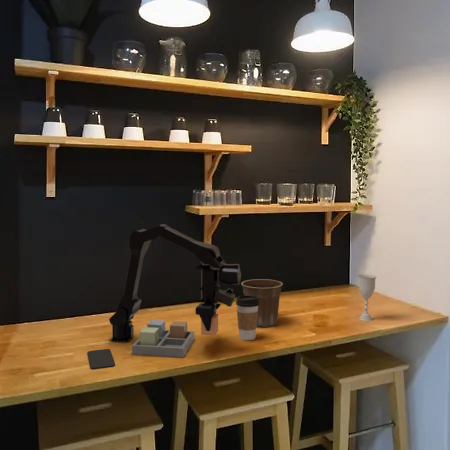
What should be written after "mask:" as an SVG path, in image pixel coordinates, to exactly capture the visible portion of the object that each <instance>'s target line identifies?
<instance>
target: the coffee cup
mask: <svg viewBox="0 0 450 450" xmlns="http://www.w3.org/2000/svg"><path fill="white" fill-rule="evenodd" d="M235 305H236V316H237V326H238V337H239V339H241V340H243V341H252V340H255V339H256V338H257V337H256V336H257V335H256V334H257V328H258V327H257V318H258V305H259V298H258V296H249V295H239V296H237V297H236V301H235Z"/></svg>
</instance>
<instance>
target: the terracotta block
mask: <svg viewBox="0 0 450 450" xmlns="http://www.w3.org/2000/svg"><path fill="white" fill-rule="evenodd" d="M218 332H219V313H216V314H215V315H214V316H213V317H212V322H211V328H210V331H207V330H206V328H205V326H204V324H203V322H202V320H201V319H200V335H201V336H217V334H218Z"/></svg>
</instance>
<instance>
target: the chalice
mask: <svg viewBox="0 0 450 450" xmlns="http://www.w3.org/2000/svg"><path fill="white" fill-rule="evenodd" d="M357 276H358V289H359V292H360V294H361V296H362V298H363V299H365V300H364V306H363V308H364V311H363V312H362V313H361V315H360V317H358V319H359V320H360V321H363V322H372V321H373V319H372V316H371V314H370V313H369V312H368V309H369V306H368V305H369V299H370V298H371V297H372V296H373V294H374V292H375V289H376V279H377V278H378V277H377V276H376V275H373V274H366V273H365V274H363V273H362V274H358V275H357Z"/></svg>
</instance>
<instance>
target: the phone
mask: <svg viewBox="0 0 450 450" xmlns="http://www.w3.org/2000/svg"><path fill="white" fill-rule="evenodd" d="M86 353H87V359H88V363H89V367H90V369H91V370H101V369H107V368H108V369H109V368H114V367H116V363H115V359H114V356H113V354H112V351H111V348H104V349H103V348H102V349H95V350H89V351H87V352H86Z"/></svg>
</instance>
